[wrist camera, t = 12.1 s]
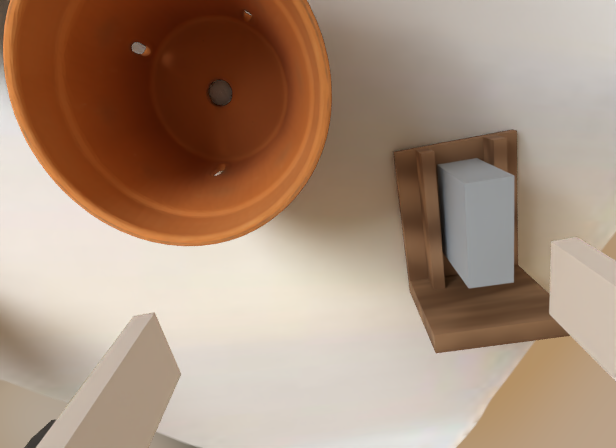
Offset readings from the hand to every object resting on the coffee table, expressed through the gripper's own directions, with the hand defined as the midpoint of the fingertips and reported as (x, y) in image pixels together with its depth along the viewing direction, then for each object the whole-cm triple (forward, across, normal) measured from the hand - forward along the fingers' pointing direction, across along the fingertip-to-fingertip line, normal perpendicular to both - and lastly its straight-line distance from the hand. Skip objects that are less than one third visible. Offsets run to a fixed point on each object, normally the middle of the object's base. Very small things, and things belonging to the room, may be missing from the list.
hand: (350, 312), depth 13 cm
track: (+28, +13, -10) cm, 33 cm away
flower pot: (+30, -9, +8) cm, 32 cm away
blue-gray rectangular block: (+28, +13, -9) cm, 32 cm away
